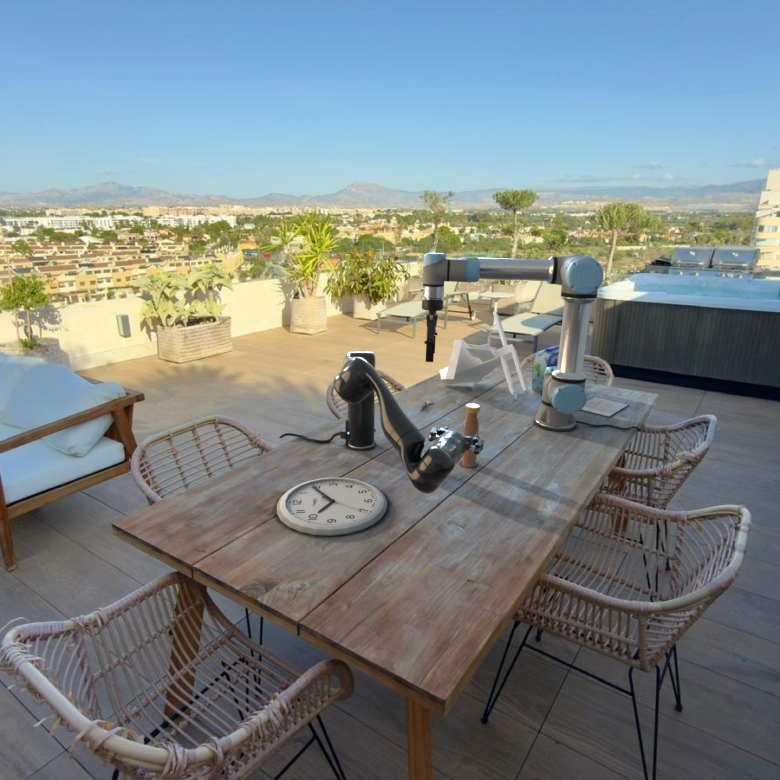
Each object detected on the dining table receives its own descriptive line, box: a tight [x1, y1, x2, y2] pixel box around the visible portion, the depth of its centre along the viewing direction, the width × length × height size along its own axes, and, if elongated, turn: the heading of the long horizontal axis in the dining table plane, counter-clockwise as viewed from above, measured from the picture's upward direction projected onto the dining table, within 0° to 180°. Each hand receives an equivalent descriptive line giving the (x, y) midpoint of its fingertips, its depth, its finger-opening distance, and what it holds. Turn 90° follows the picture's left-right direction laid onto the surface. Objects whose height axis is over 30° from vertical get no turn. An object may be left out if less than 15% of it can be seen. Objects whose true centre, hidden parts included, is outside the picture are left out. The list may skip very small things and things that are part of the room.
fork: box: [420, 396, 435, 411], centre depth 223 cm, size 3×16×2 cm, turn 160°
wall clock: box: [276, 476, 388, 537], centre depth 142 cm, size 30×2×30 cm
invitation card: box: [580, 396, 629, 418], centre depth 226 cm, size 21×1×15 cm
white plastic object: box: [438, 310, 531, 400], centre depth 245 cm, size 37×45×31 cm
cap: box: [465, 402, 481, 414], centre depth 163 cm, size 4×4×2 cm
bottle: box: [461, 412, 480, 468], centre depth 166 cm, size 5×5×20 cm
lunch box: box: [531, 344, 560, 393], centre depth 245 cm, size 26×11×21 cm, turn 134°
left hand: (461, 433), depth 146 cm, fingers open, 8 cm apart
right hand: (430, 357), depth 190 cm, fingers open, 13 cm apart
